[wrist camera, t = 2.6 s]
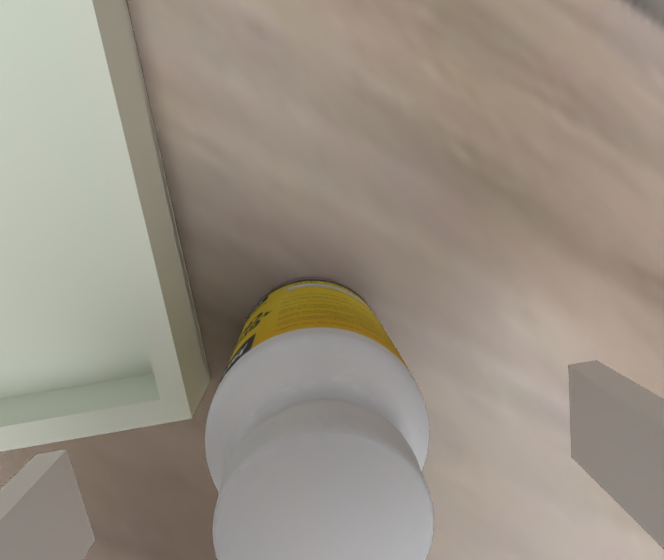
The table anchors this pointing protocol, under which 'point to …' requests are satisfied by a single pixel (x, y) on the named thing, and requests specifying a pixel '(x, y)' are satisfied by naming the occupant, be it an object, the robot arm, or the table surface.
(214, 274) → the table surface
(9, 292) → the tray
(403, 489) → the pill bottle
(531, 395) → the table surface
